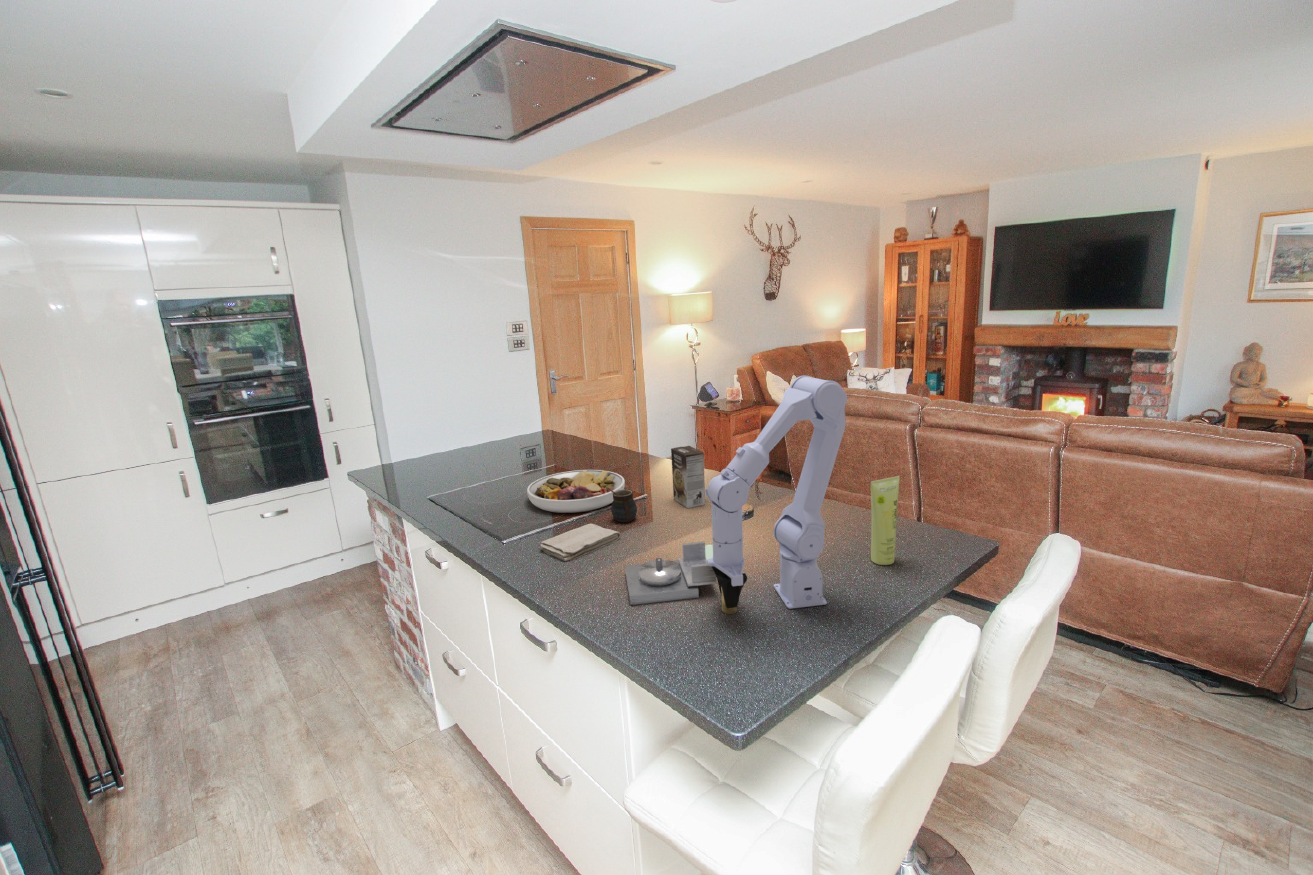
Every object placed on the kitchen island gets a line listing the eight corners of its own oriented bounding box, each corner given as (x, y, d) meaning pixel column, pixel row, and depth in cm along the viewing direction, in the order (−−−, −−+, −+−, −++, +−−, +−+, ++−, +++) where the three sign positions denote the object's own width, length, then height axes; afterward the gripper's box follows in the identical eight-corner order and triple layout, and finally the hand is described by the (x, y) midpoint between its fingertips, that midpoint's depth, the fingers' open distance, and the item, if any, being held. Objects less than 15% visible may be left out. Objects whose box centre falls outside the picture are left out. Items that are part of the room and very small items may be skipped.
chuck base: (698, 597, 122) (698, 588, 122) (630, 605, 121) (630, 596, 120) (687, 567, 136) (686, 559, 135) (625, 573, 134) (625, 565, 134)
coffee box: (672, 499, 180) (670, 448, 176) (691, 495, 183) (689, 444, 179) (686, 508, 172) (684, 455, 168) (706, 504, 175) (704, 451, 171)
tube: (892, 568, 130) (895, 483, 125) (867, 564, 132) (870, 480, 128) (896, 558, 135) (899, 475, 130) (872, 554, 137) (875, 473, 132)
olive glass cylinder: (738, 612, 116) (738, 582, 114) (723, 614, 116) (722, 584, 114) (735, 605, 119) (734, 575, 117) (720, 606, 118) (719, 576, 117)
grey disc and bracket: (641, 591, 121) (640, 573, 120) (636, 564, 133) (635, 547, 132) (716, 583, 123) (716, 565, 122) (704, 557, 135) (703, 540, 134)
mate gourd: (641, 521, 165) (639, 487, 162) (615, 527, 162) (612, 492, 160) (632, 512, 171) (630, 479, 169) (607, 518, 169) (604, 484, 166)
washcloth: (537, 552, 150) (536, 540, 149) (592, 529, 162) (591, 518, 161) (567, 565, 142) (565, 552, 141) (622, 540, 154) (621, 528, 153)
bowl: (524, 491, 196) (521, 469, 194) (613, 478, 205) (611, 456, 203) (534, 523, 168) (531, 497, 166) (636, 507, 177) (635, 481, 175)
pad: (742, 561, 137) (742, 559, 137) (699, 565, 136) (699, 564, 136) (732, 543, 147) (732, 542, 147) (692, 547, 146) (691, 546, 146)
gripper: (699, 525, 120) (701, 586, 123) (715, 555, 106) (717, 624, 109) (733, 522, 121) (735, 583, 124) (753, 551, 107) (754, 619, 110)
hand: (729, 602), depth 117 cm, fingers closed on olive glass cylinder, 3 cm apart
